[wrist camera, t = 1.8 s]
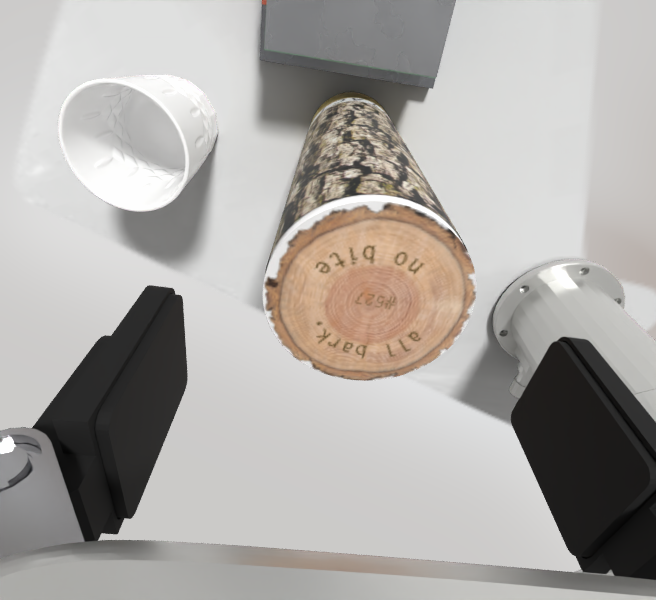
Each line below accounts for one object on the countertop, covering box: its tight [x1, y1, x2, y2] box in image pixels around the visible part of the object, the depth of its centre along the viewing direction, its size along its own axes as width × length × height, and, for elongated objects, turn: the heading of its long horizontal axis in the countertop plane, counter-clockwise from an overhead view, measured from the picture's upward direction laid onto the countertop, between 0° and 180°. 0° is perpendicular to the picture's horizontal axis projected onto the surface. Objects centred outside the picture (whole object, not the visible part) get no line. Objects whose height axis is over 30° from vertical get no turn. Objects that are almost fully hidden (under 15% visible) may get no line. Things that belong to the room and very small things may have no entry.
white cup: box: [58, 75, 218, 212], centre depth 30 cm, size 8×8×10 cm
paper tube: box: [263, 92, 476, 380], centre depth 24 cm, size 7×7×25 cm
